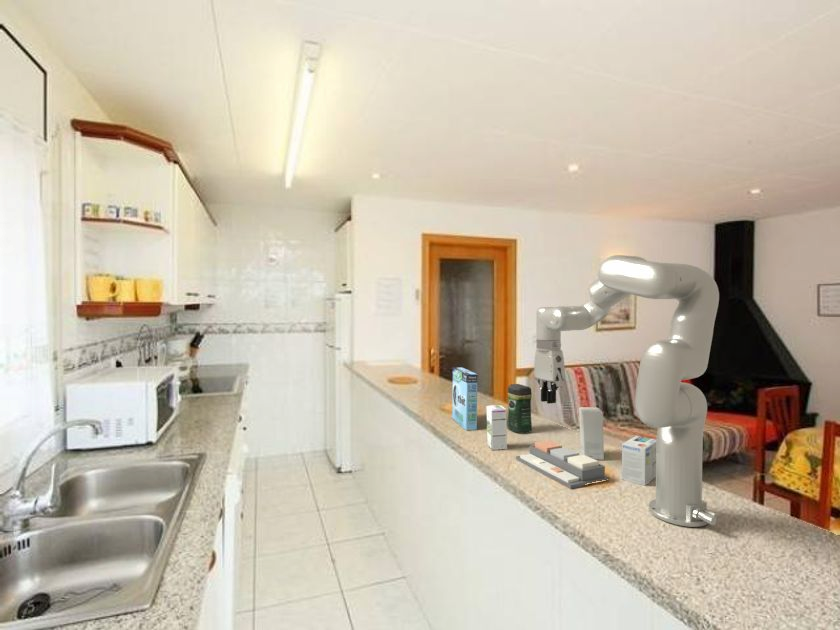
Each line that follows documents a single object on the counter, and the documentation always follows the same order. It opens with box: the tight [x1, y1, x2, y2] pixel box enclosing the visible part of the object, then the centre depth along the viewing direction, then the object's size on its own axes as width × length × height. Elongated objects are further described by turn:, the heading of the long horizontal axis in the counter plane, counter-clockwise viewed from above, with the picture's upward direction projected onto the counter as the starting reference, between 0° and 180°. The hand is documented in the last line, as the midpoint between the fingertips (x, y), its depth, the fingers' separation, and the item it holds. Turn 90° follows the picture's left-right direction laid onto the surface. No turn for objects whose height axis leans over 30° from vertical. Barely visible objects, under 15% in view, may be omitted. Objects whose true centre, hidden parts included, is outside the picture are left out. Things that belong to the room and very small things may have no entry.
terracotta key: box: [534, 440, 563, 453], centre depth 142 cm, size 6×6×2 cm
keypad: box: [515, 444, 610, 490], centre depth 135 cm, size 25×14×4 cm, turn 23°
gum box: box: [451, 366, 479, 431], centre depth 186 cm, size 20×5×23 cm, turn 13°
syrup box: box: [486, 404, 508, 451], centre depth 155 cm, size 6×6×14 cm
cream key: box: [568, 454, 600, 469], centre depth 128 cm, size 6×6×2 cm
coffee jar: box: [507, 383, 533, 434], centre depth 176 cm, size 10×8×19 cm
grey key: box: [550, 446, 580, 461], centre depth 135 cm, size 6×6×2 cm
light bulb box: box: [621, 435, 656, 486], centre depth 128 cm, size 11×7×11 cm, turn 135°
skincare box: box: [578, 406, 605, 461], centre depth 147 cm, size 8×7×16 cm
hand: (548, 401), depth 142 cm, fingers closed
